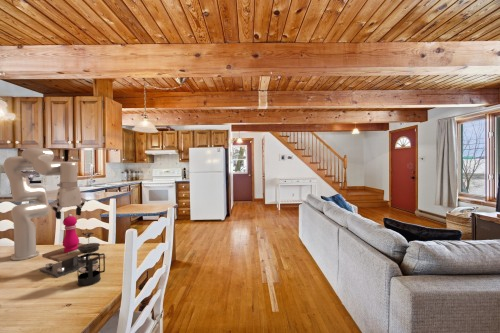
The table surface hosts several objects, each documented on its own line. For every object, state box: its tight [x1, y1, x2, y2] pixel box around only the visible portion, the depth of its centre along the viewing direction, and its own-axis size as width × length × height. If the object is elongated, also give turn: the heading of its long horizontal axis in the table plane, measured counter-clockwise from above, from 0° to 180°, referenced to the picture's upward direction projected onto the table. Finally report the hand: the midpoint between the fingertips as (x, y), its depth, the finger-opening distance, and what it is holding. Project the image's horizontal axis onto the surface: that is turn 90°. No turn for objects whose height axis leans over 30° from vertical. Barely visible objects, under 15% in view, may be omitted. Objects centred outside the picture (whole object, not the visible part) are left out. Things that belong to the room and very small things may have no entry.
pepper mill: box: [62, 213, 80, 253], centre depth 130 cm, size 7×7×20 cm
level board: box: [41, 242, 85, 263], centre depth 131 cm, size 15×18×2 cm
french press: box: [76, 231, 106, 287], centre depth 115 cm, size 12×9×23 cm
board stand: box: [39, 255, 99, 279], centre depth 131 cm, size 16×20×6 cm
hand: (68, 216), depth 131 cm, fingers open, 9 cm apart
